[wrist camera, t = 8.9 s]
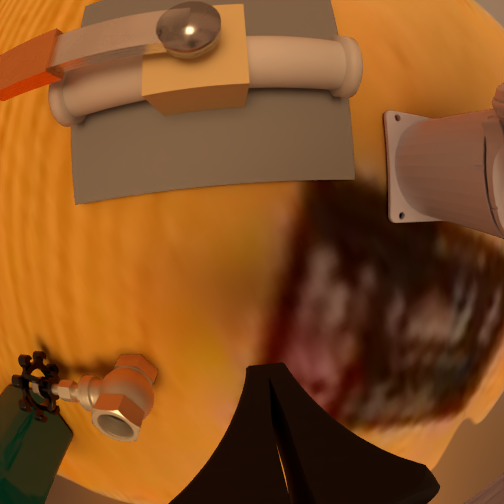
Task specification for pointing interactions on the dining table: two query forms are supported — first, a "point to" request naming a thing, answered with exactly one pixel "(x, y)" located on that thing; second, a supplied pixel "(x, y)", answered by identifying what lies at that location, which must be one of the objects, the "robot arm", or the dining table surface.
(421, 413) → the dining table surface
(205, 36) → the valve lever
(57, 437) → the pitcher
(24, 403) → the valve
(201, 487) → the robot arm
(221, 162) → the pipe board
